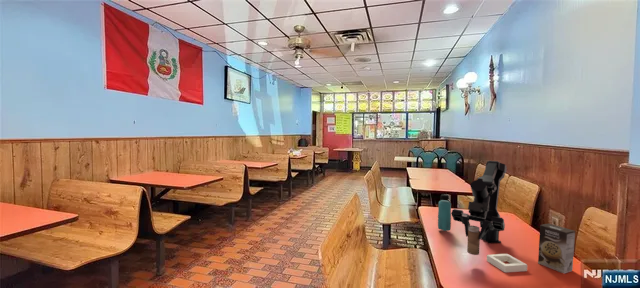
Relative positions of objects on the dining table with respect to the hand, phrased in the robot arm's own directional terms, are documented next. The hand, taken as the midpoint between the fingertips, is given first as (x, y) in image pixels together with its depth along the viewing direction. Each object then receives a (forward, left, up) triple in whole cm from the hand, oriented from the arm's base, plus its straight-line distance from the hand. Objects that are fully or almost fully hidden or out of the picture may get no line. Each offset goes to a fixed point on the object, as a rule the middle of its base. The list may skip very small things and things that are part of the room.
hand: (472, 237), depth 108 cm
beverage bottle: (-10, -36, -12) cm, 39 cm away
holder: (-14, +2, -11) cm, 18 cm away
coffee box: (-32, +5, -12) cm, 35 cm away
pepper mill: (-1, -1, -7) cm, 7 cm away
